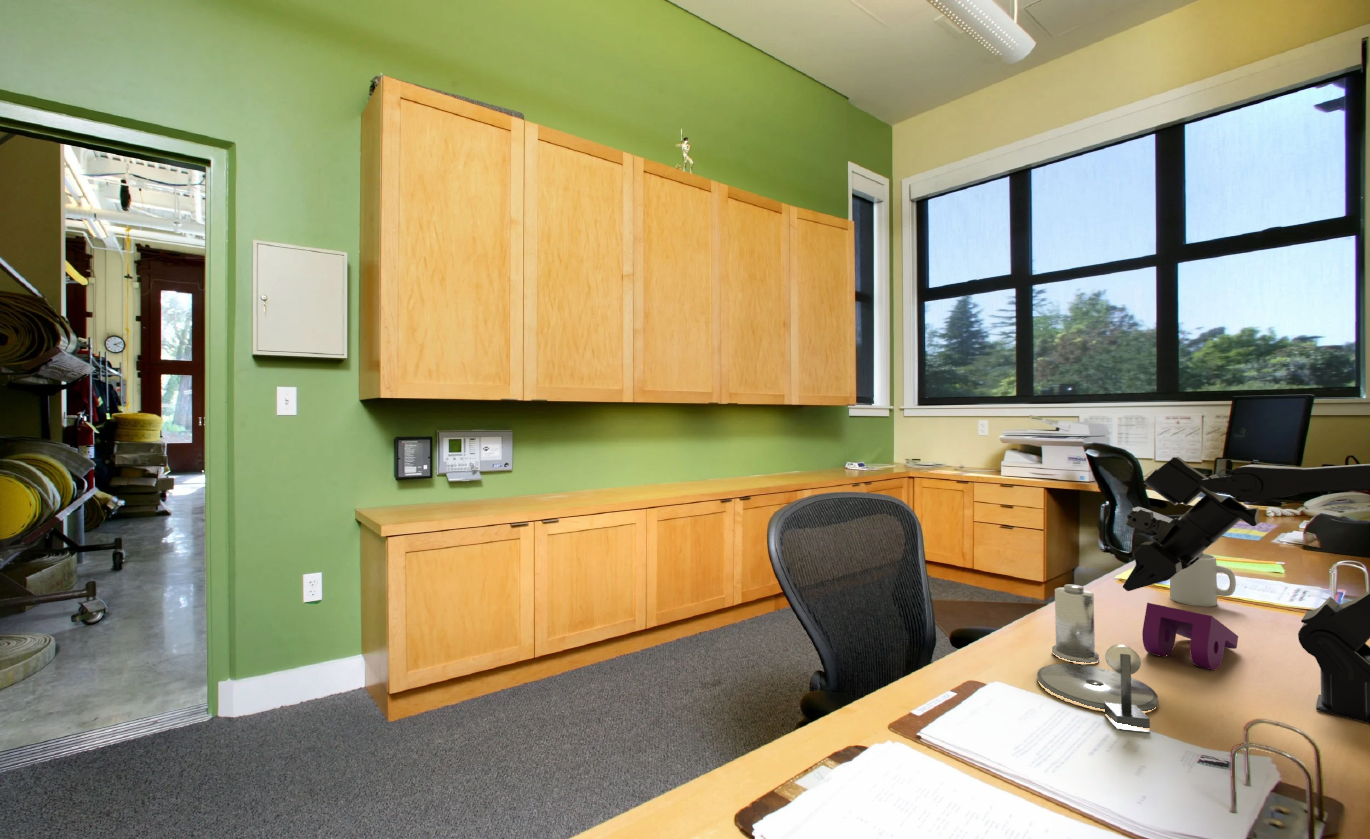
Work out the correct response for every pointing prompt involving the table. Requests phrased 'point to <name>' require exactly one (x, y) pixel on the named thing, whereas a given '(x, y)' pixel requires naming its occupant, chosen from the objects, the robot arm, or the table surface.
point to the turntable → (1094, 686)
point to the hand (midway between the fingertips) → (1133, 584)
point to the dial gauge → (1125, 686)
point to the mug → (1200, 583)
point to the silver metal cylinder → (1075, 624)
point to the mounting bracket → (1187, 634)
